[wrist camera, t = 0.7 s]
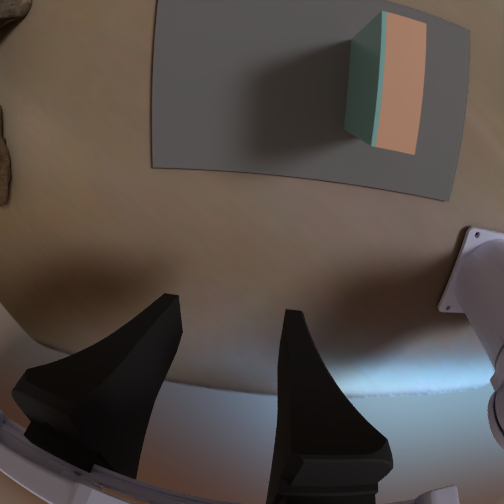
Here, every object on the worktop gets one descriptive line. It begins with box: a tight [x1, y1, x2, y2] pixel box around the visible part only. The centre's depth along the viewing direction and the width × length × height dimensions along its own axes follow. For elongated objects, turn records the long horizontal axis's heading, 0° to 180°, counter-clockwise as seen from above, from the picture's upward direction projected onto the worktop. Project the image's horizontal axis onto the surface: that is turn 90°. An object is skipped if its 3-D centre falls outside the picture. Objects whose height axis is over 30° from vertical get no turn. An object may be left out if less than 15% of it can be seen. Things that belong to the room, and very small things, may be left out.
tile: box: [344, 11, 426, 155], centre depth 13 cm, size 2×6×7 cm, turn 177°
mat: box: [152, 0, 470, 202], centre depth 16 cm, size 21×13×1 cm, turn 87°
